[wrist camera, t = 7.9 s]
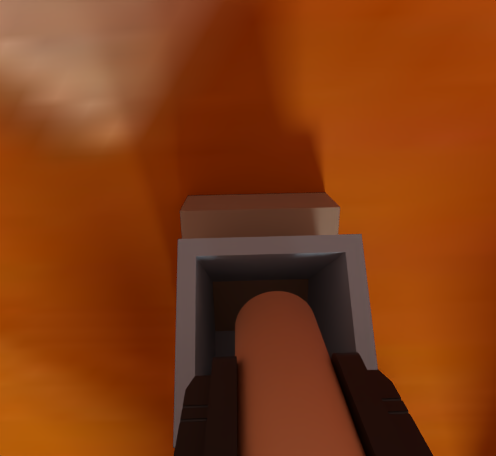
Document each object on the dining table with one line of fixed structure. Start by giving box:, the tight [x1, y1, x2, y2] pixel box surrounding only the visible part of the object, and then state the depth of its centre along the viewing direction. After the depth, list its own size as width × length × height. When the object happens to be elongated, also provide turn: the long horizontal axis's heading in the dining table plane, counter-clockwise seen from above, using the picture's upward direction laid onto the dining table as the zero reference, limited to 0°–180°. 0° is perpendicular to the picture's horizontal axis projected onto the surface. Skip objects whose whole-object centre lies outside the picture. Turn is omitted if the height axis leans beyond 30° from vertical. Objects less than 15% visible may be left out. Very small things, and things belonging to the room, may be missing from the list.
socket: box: [173, 192, 378, 448], centre depth 18 cm, size 12×9×14 cm
